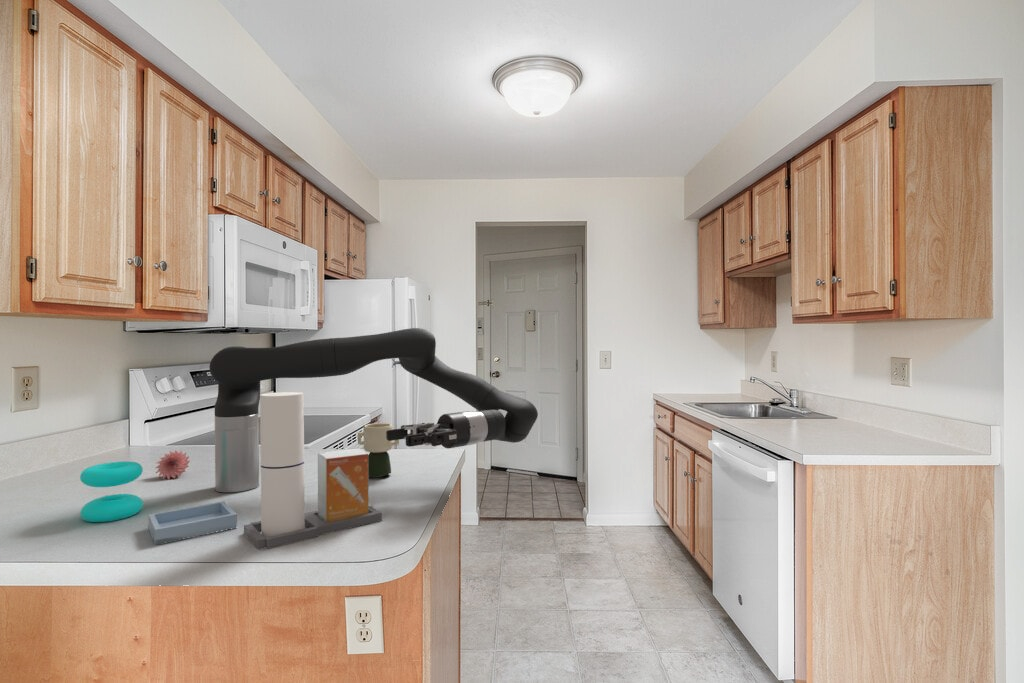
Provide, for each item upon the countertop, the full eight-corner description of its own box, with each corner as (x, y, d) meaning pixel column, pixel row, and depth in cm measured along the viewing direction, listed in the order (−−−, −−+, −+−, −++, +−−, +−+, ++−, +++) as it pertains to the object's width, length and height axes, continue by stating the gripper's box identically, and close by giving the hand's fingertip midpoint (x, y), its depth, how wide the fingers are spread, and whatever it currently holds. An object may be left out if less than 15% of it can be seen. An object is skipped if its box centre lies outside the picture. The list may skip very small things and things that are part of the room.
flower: (175, 450, 143) (167, 441, 139) (201, 462, 143) (194, 454, 138) (153, 476, 139) (144, 468, 134) (179, 489, 138) (171, 482, 134)
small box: (326, 529, 99) (325, 458, 99) (317, 520, 104) (316, 452, 104) (369, 521, 103) (369, 453, 103) (359, 512, 109) (358, 447, 109)
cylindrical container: (262, 544, 92) (261, 396, 92) (260, 531, 98) (259, 393, 98) (307, 536, 95) (305, 394, 95) (302, 524, 102) (301, 391, 101)
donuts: (67, 472, 102) (98, 461, 112) (68, 525, 102) (99, 509, 112) (126, 470, 104) (151, 459, 114) (127, 522, 104) (152, 506, 114)
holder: (243, 532, 98) (242, 524, 98) (360, 507, 111) (360, 500, 111) (259, 550, 89) (259, 541, 89) (383, 521, 103) (383, 513, 103)
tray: (148, 528, 100) (148, 514, 100) (224, 514, 108) (224, 501, 108) (155, 545, 92) (155, 529, 92) (236, 528, 100) (236, 514, 100)
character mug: (404, 473, 140) (403, 423, 140) (394, 480, 133) (393, 427, 133) (363, 472, 142) (363, 422, 141) (352, 479, 134) (351, 427, 134)
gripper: (445, 409, 126) (380, 416, 116) (480, 415, 115) (413, 423, 105) (445, 441, 126) (381, 451, 116) (481, 450, 115) (413, 462, 105)
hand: (396, 438), depth 111 cm, fingers open, 8 cm apart
